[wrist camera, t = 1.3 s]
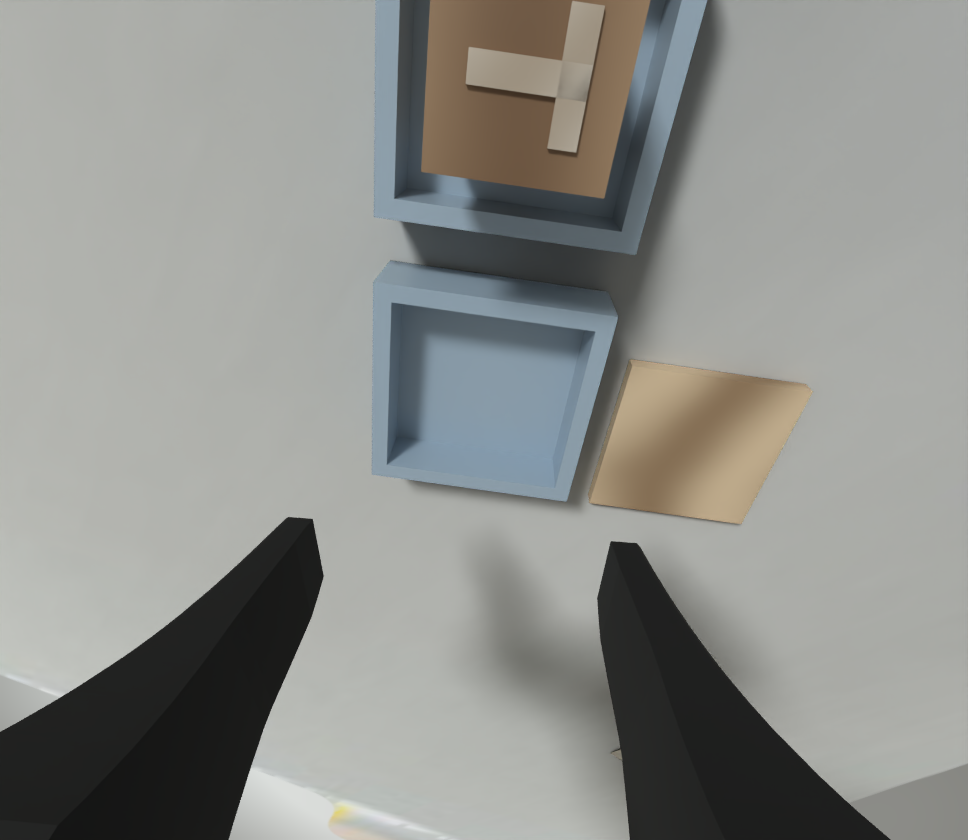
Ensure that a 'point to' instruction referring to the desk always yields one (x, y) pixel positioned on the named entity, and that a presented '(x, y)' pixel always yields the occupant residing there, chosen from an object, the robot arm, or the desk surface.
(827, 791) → the robot arm
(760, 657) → the desk surface
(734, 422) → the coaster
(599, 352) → the dish
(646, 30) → the dish
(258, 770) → the desk surface
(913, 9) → the desk surface
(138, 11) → the desk surface
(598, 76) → the letter block
